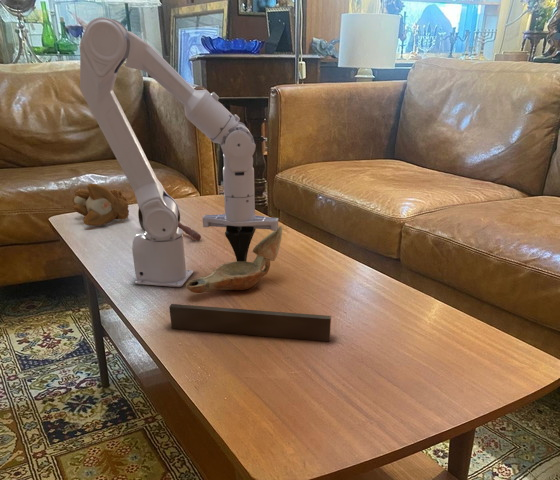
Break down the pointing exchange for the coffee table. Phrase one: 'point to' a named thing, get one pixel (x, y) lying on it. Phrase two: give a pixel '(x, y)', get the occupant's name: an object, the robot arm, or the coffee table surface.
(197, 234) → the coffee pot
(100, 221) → the stuffed squirrel
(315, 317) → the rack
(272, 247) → the oil lamp
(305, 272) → the coffee table surface
